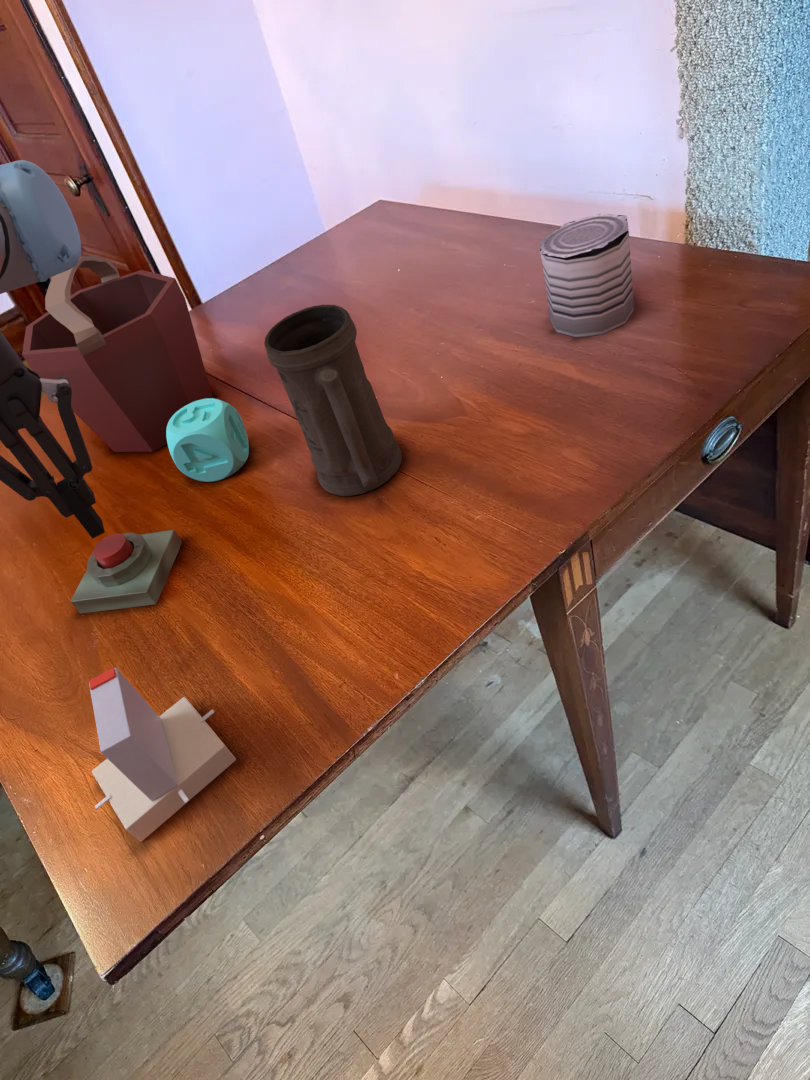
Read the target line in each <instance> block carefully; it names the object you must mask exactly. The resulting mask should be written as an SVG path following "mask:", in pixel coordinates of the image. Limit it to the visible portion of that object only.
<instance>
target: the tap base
mask: <svg viewBox="0 0 810 1080" xmlns="http://www.w3.org/2000/svg"><path fill="white" fill-rule="evenodd" d="M213 714H215V710H214V709H211V710H209V711H208V712H207V713H206V714H204V715H203V716H202V715H201V714H200V713H199V711H198V710H197V709H196V708H195V707H194V706H193V705H192V703H191V702H190V701H189V700H188V698H187V697H186V696H183V697H182V698H180V699H179V700H177V702H175V703H174V704H173V705H171V707H169V708H168V709H166V710H165V711H164V712H163V713H162V714H160V715H159V717H160V718H161V720H162V724H163V728H164V732H165V735H166V739H167V743H168V747H169V751H170V755H171V759H172V762H173V766H174V770H175V774H176V778H177V782H178V786H177V787H176V788H174V789H172V790H170V791H169V792H167V793H165V794H163V795H162V796H160V797H158V798H156V799H155V800H153V801H151V800H150V799H149V798H148V797H147V796H146V795H145V794H144V793H143V792H142V791H140V790H139V789H138V788H137V787H136V786H135V785H134V784H133V783H132V782H131V781H130V780H129V779H128V778H127V777H126V776H125V775H124V774H123V773H122V772H121V771H120V770H119V769H118V768H117V767H116V766H115V765H114V764H112V763H111V762H110V761H109V760H108V759H107V758H106V759H104V760H103V761H102V762H100V764H98V765H97V766H96V767H94V768H93V769H92V770H91V773H92V775H93V777H94V779H95V781H96V782H97V783H98V785H99V787H100V789H101V790H102V793H103V794H104V795H105V797H104V798H102V800H100V801H99V802H98V803H96V804H95V805H94V808H95V810H98V809H100V808H101V807H103V805H104V804H106V803H107V802H109V804H110V805H111V807H112V809H113V811H114V812H115V814H116V816H117V817H118V819H119V821H120V822H121V824H122V826H123V827H124V830H126V832H128V833H129V834H130V835H131V836H132V837H134V838H135V839H136V840H137V841H138V842H139V843H142V842H143V841H145V839H147V838H148V837H149V836H151V834H153V832H154V831H156V830H157V829H159V828H160V826H161V825H163V824H164V823H165V822H167V820H169V819H170V818H171V817H172V816H173V815H174V814H176V813H177V812H178V811H179V810H180V809H181V808H183V807H184V806H185V805H186V804H187V803H189V802H190V801H191V799H193V798H194V797H195V796H196V795H198V794H199V793H200V792H201V791H202V790H203V789H204V788H206V787H207V786H208V785H209V784H210V783H211V782H212V781H214V780H215V779H217V777H219V775H221V774H222V773H223V772H224V771H226V769H228V768H229V767H230V766H232V764H234V763H235V762H236V761H237V758H236V756H235V755H234V754H233V753H232V752H231V751H230V750H229V748H228V747H227V745H225V743H224V742H223V741H222V739H220V737H219V736H218V735H217V734H216V732H215V731H214V730H213V728H212V727H211V726H210V725H209V724H208V723H207V721H206V720H207V719H208V718H210V717H211V716H213Z"/></svg>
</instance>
